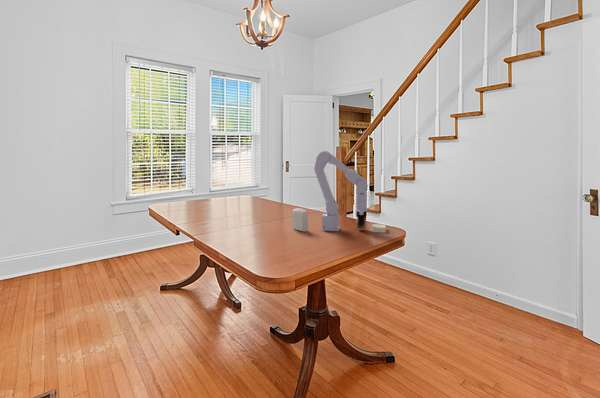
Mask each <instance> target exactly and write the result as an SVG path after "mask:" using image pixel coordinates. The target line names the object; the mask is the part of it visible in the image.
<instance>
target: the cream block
mask: <svg viewBox="0 0 600 398" xmlns="http://www.w3.org/2000/svg"><path fill="white" fill-rule="evenodd" d="M371 228H372V229H371V232H372V233H386V231H387V228H386V224H378V223H377V224H374V223H373V224H372V227H371Z"/></svg>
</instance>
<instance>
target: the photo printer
mask: <svg viewBox="0 0 600 398" xmlns="http://www.w3.org/2000/svg"><path fill="white" fill-rule="evenodd" d="M308 214H309V213H308V211H307V210H305V209H303V208H298V207H296V208H294V209H292V216H291V217H292V229H293V230H296V231H300V232H304V233H305V232H308V231H309V225H308V224H309V223H308V222H309V221H308Z"/></svg>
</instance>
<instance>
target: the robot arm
mask: <svg viewBox="0 0 600 398" xmlns="http://www.w3.org/2000/svg"><path fill="white" fill-rule="evenodd" d="M315 159H316V160H315V163H314V168H313V169H314V173H315V176H316V178H317V182H318V183H319V187H320V189H321V192H322V195H323V197H324V202H325V211H326V213H323V214H322V216H321V218H322V219H321V228H322V230H321V231H323V232H324V231H325V232H326V231H327V232H340V230H341V226H340V213H339V212H338V210H339V204H338V201H336V199H335V198H334V195H333V193H332V190H331V187H330V184H329V181H328V179H327V174H326V173H325V167H326V166H327V164H329V165H334V166H335V167H336V168H338V169H339V170H340V171H342V173H344V175H345V178H346V179H347V180H348V181H349V182H350V183H352V184H353V185H355V186H356V193H355V194H356V195H355V198H356V199H355V202H356V203H355V204H356V205H355V212H356V214H355V216H356V217H357V220H358V222H359V226H363V225H364V220H365V221H366V219H365V218H366V217H367V211H370V209H369V208H367V207H368V205H367V204H368V203H367V202H368V192H367V188H368V182H367V180H366V179H365V178H363V177H364V176H361V175H360V174H359V173H358V172H357V170H356V169H353V168H352V169H351V168H350V169H349V168H348V167H347V166H346V165H345V164H344V163H343V162H342V161H341V160H340V159H339V158H338V157H337V156H335V155H333V154H331V153H330V152H329V151H327V150H325V151H321V152H320V153H318V154H317V156H316V158H315Z"/></svg>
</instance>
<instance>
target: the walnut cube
mask: <svg viewBox="0 0 600 398" xmlns="http://www.w3.org/2000/svg"><path fill="white" fill-rule="evenodd" d="M356 229H364V230H365V229H366V219H365V220H364V225H363V226H359V222H358V219H356Z"/></svg>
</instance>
